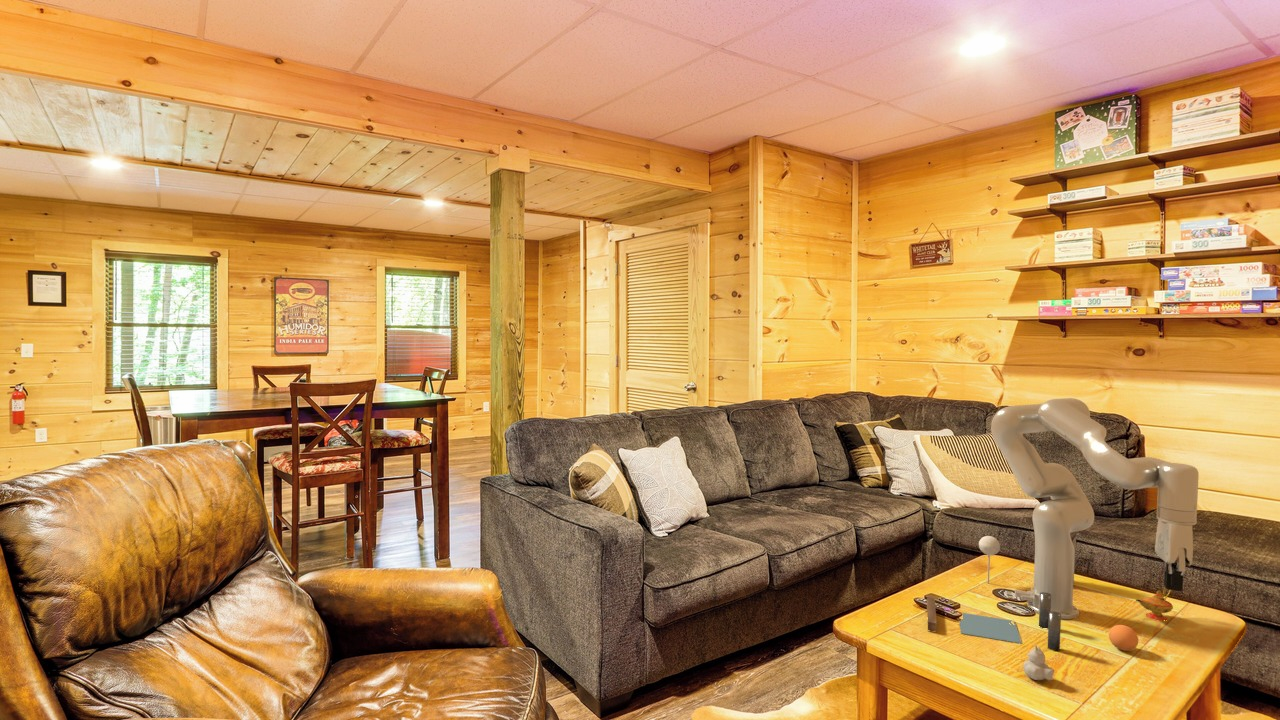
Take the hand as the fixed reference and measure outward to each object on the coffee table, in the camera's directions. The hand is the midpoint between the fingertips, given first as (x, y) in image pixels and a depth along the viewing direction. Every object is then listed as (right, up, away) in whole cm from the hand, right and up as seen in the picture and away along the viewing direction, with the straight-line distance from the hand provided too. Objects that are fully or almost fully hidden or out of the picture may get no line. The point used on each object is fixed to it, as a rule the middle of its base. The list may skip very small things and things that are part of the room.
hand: (1173, 588), depth 161 cm
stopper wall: (-49, -16, +22) cm, 56 cm away
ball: (-9, -14, +4) cm, 17 cm away
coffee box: (+2, -15, +49) cm, 51 cm away
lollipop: (-20, -15, +47) cm, 54 cm away
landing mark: (-37, -16, +16) cm, 43 cm away
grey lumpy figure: (-39, -18, -10) cm, 44 cm away
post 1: (-21, -16, +17) cm, 31 cm away
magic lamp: (+13, -16, +23) cm, 31 cm away
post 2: (-26, -17, +5) cm, 31 cm away
